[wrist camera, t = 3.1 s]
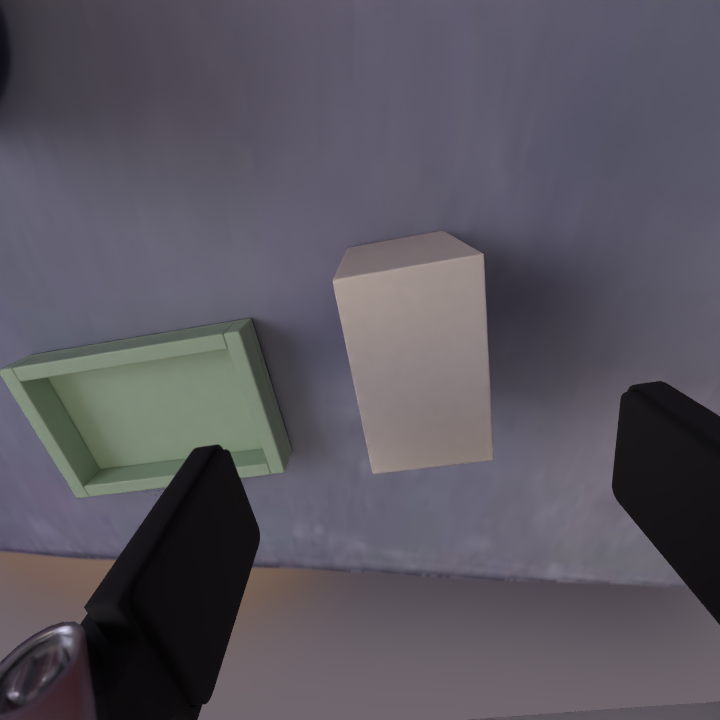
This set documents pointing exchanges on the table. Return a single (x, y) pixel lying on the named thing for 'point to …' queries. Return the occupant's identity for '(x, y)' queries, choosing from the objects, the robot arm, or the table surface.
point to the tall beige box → (418, 350)
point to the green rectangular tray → (152, 406)
